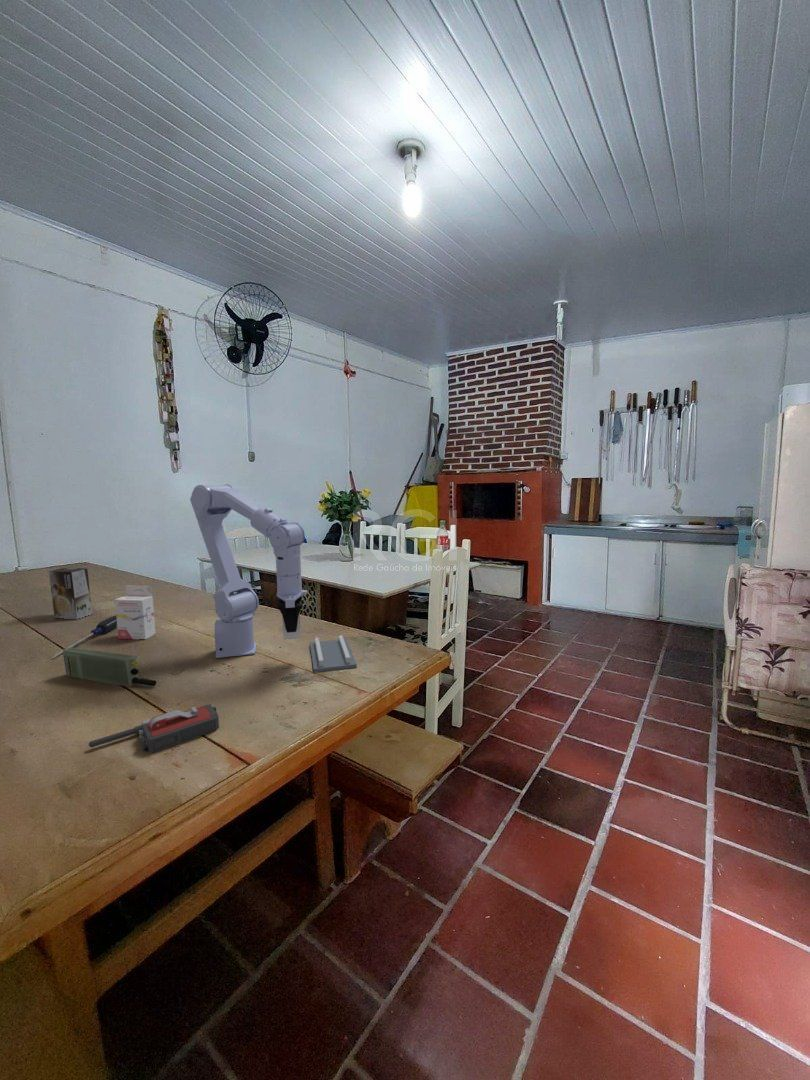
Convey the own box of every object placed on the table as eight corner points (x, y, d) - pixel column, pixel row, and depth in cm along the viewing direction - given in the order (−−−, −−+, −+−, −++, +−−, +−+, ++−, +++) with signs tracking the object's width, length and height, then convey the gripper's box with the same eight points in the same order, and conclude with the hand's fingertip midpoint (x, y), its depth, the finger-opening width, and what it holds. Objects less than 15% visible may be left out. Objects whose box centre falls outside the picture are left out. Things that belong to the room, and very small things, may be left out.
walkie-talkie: (212, 710, 88) (88, 749, 75) (211, 689, 87) (86, 725, 75) (227, 729, 81) (93, 775, 69) (225, 706, 81) (91, 749, 68)
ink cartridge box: (117, 639, 127) (112, 589, 125) (129, 633, 132) (124, 584, 130) (145, 640, 126) (140, 589, 124) (156, 634, 131) (152, 585, 129)
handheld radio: (78, 672, 106) (161, 685, 99) (63, 678, 103) (149, 692, 96) (73, 645, 105) (158, 656, 98) (59, 651, 102) (145, 663, 95)
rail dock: (313, 672, 104) (313, 662, 104) (309, 645, 121) (309, 637, 121) (356, 667, 107) (356, 658, 106) (346, 641, 124) (346, 633, 124)
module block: (283, 639, 106) (282, 614, 106) (283, 634, 110) (282, 609, 109) (300, 638, 107) (299, 613, 107) (300, 632, 111) (299, 608, 110)
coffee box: (93, 614, 152) (88, 567, 150) (77, 620, 145) (71, 571, 143) (70, 613, 153) (65, 567, 151) (53, 618, 147) (47, 571, 145)
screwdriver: (58, 659, 113) (56, 645, 113) (44, 659, 113) (42, 645, 113) (124, 626, 139) (123, 614, 138) (112, 626, 139) (111, 614, 138)
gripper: (307, 579, 101) (309, 637, 103) (305, 567, 115) (307, 618, 117) (274, 581, 99) (277, 640, 101) (276, 569, 113) (279, 620, 115)
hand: (291, 628), depth 109 cm, fingers closed on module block, 4 cm apart
